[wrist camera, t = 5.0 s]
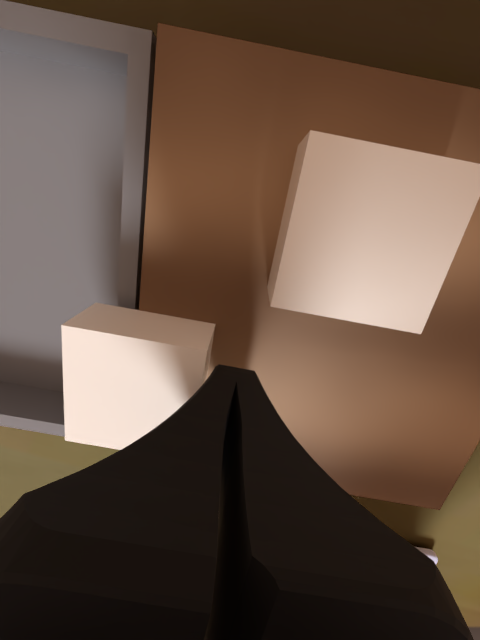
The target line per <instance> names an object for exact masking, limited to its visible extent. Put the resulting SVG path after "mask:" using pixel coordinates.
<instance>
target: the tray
mask: <svg viewBox="0 0 480 640" xmlns="http://www.w3.org/2000/svg"><path fill="white" fill-rule="evenodd" d="M156 43H157V38H156V37H155V35H154V33H153V32H152V30H147V29H142V28H137V27H132V26H127V25H122V24H118V23H113V22H108V21H103V20H98V19H93V18H88V17H84V16H79V15H74V14H69V13H64V12H59V11H54V10H49V9H45V8H40V7H35V6H30V5H25V4H20V3H15V2H11V1H6V0H0V426H5V427H11V428H17V429H23V430H29V431H35V432H41V433H47V434H52V435H58V436H64V437H65V424H64V394H63V363H62V332H61V325H62V324H64V323H65V322H67V321H68V320H70V319H71V318H73V317H74V316H76V315H78V314H79V313H81V312H82V311H84V310H85V309H87V308H88V307H90V306H92V305H93V304H95V303H101V304H107V305H112V306H118V307H124V308H129V309H135V310H139V300H140V285H141V270H142V255H143V240H144V225H145V209H146V194H147V179H148V164H149V149H150V134H151V119H152V104H153V88H154V73H155V58H156Z"/></svg>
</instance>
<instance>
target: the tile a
mask: <svg viewBox="0 0 480 640" xmlns="http://www.w3.org/2000/svg"><path fill="white" fill-rule="evenodd" d="M214 331H215V324H213V323H207V322H202V321H196V320H190V319H185V318H179V317H174V316H168V315H163V314H157V313H151V312H146V311H140V310H135V309H129V308H124V307H118V306H112V305H107V304H101V303H95V304H93V305H92V306H90V307H88V308H87V309H85V310H84V311H82V312H81V313H79V314H78V315H76V316H74V317H73V318H71V319H70V320H68V321H67V322H65V323H64V324H62V325H61V332H62V363H63V394H64V424H65V441H71V442H77V443H83V444H89V445H95V446H101V447H107V448H113V449H119V450H122V449H123V448H125V447H127V446H128V445H130V444H132V443H133V442H135V441H136V440H138V439H139V438H141V437H142V436H144V435H145V434H147V433H148V432H150V431H151V430H153V429H154V428H155V427H157V426H158V425H159V424H161V423H162V422H163V421H165V420H166V419H167V418H169V417H170V416H171V415H172V414H173V413H174V412H176V411H177V410H178V409H179V408H180V407H181V406H182V405H183V404H184V403H185V402H186V401H187V400H189V399H190V398H191V397H192V396H193V395H194V394H195V392H196V391H197V390H198V389H199V388H200V387H201V386H202V385H203V384H204V382H205V381H206V380H207V374H208V368H209V362H210V355H211V349H212V343H213V337H214Z"/></svg>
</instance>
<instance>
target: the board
mask: <svg viewBox="0 0 480 640" xmlns="http://www.w3.org/2000/svg"><path fill="white" fill-rule="evenodd" d="M310 130H313V131H318V132H323V133H328V134H333V135H338V136H343V137H348V138H353V139H358V140H363V141H368V142H373V143H378V144H383V145H388V146H393V147H398V148H403V149H408V150H413V151H418V152H423V153H428V154H433V155H438V156H443V157H448V158H453V159H458V160H463V161H468V162H473V163H478V164H480V89H477V88H472V87H467V86H462V85H457V84H452V83H448V82H443V81H438V80H433V79H428V78H423V77H419V76H414V75H409V74H404V73H399V72H394V71H389V70H385V69H380V68H375V67H370V66H365V65H360V64H356V63H351V62H346V61H341V60H336V59H331V58H327V57H322V56H317V55H312V54H307V53H302V52H297V51H293V50H288V49H283V48H278V47H273V46H268V45H264V44H259V43H254V42H249V41H244V40H239V39H234V38H230V37H225V36H220V35H215V34H210V33H205V32H201V31H196V30H191V29H186V28H181V27H176V26H171V25H167V24H162V23H158V28H157V43H156V58H155V73H154V88H153V104H152V119H151V134H150V149H149V164H148V179H147V194H146V209H145V225H144V240H143V255H142V270H141V285H140V300H139V310H140V311H146V312H151V313H157V314H163V315H168V316H174V317H179V318H185V319H190V320H196V321H202V322H207V323H213V324H215V331H214V337H213V343H212V349H211V355H210V362H209V368H208V374H207V379H208V377H209V376H210V374H211V373H212V371H213V370H214V368H215V366H217V365H219V364H220V365H226V366H231V367H237V368H242V369H248V370H253V371H255V372H256V374H257V376H258V378H259V380H260V382H261V384H262V386H263V388H264V390H265V392H266V394H267V396H268V397H269V399H270V401H271V403H272V404H273V406H274V408H275V409H276V411H277V413H278V414H279V416H280V417H281V419H282V420H283V422H284V423H285V425H286V426H287V428H288V429H289V430H290V432H291V433H292V435H293V436H294V437H295V438H296V440H297V441H298V442H299V443H300V444H301V446H302V447H303V448H304V449H305V450H306V452H307V453H308V454H309V455H310V456H311V457H312V458H313V460H314V461H315V462H316V463H317V464H318V465H319V466H320V467H321V468H322V469H323V470H324V471H325V472H326V473H327V474H328V475H329V476H330V477H331V478H332V479H333V480H334V481H335V482H336V483H337V484H338V485H339V486H340V487H341V488H342V489H344V490H345V491H346V492H347V493H348V494H349V495H354V496H360V497H366V498H372V499H378V500H384V501H390V502H395V503H401V504H407V505H413V506H419V507H425V508H431V509H437V510H440V508H441V507H442V505H443V503H444V502H445V500H446V498H447V496H448V495H449V493H450V491H451V489H452V488H453V486H454V484H455V483H456V481H457V479H458V477H459V476H460V474H461V472H462V470H463V469H464V467H465V465H466V463H467V462H468V460H469V458H470V457H471V455H472V453H473V451H474V450H475V448H476V446H477V444H478V443H479V441H480V197H479V200H478V202H477V204H476V207H475V209H474V211H473V214H472V216H471V218H470V221H469V223H468V225H467V228H466V230H465V232H464V235H463V237H462V240H461V242H460V244H459V247H458V249H457V251H456V254H455V256H454V258H453V261H452V263H451V265H450V268H449V270H448V272H447V275H446V277H445V279H444V282H443V284H442V286H441V289H440V291H439V294H438V296H437V298H436V301H435V303H434V305H433V308H432V310H431V312H430V315H429V317H428V319H427V322H426V324H425V326H424V329H423V331H422V333H421V334H417V333H411V332H406V331H400V330H395V329H389V328H384V327H379V326H373V325H368V324H362V323H357V322H351V321H346V320H341V319H335V318H330V317H324V316H319V315H313V314H308V313H303V312H297V311H292V310H286V309H281V308H275V307H270V301H269V295H268V289H267V285H268V281H269V276H270V271H271V267H272V262H273V258H274V253H275V248H276V244H277V239H278V235H279V230H280V226H281V221H282V216H283V212H284V207H285V203H286V198H287V193H288V189H289V184H290V180H291V175H292V170H293V166H294V161H295V157H296V152H297V147H298V145H299V144H300V142H301V141H302V140H303V139H304V137H305V136H306V135H307V134H308V132H309V131H310Z"/></svg>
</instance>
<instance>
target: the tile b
mask: <svg viewBox="0 0 480 640" xmlns="http://www.w3.org/2000/svg"><path fill="white" fill-rule="evenodd" d="M479 197H480V164H478V163H473V162H468V161H463V160H458V159H453V158H448V157H443V156H438V155H433V154H428V153H423V152H418V151H413V150H408V149H403V148H398V147H393V146H388V145H383V144H378V143H373V142H368V141H363V140H358V139H353V138H348V137H343V136H338V135H333V134H328V133H323V132H318V131H313V130H310V131H309V132H308V134H307V135H306V136H305V137H304V139H303V140H302V141H301V142H300V144H299V145H298V147H297V152H296V157H295V161H294V166H293V170H292V175H291V180H290V184H289V189H288V193H287V198H286V203H285V207H284V212H283V216H282V221H281V226H280V230H279V235H278V239H277V244H276V248H275V253H274V258H273V262H272V267H271V271H270V276H269V281H268V285H267V289H268V295H269V301H270V307H275V308H281V309H286V310H292V311H297V312H303V313H308V314H313V315H319V316H324V317H330V318H335V319H341V320H346V321H351V322H357V323H362V324H368V325H373V326H379V327H384V328H389V329H395V330H400V331H406V332H411V333H417V334H421V333H422V331H423V329H424V326H425V324H426V322H427V319H428V317H429V315H430V312H431V310H432V308H433V305H434V303H435V301H436V298H437V296H438V294H439V291H440V289H441V286H442V284H443V282H444V279H445V277H446V275H447V272H448V270H449V268H450V265H451V263H452V261H453V258H454V256H455V254H456V251H457V249H458V247H459V244H460V242H461V240H462V237H463V235H464V232H465V230H466V228H467V225H468V223H469V221H470V218H471V216H472V214H473V211H474V209H475V207H476V204H477V202H478V200H479Z"/></svg>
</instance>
